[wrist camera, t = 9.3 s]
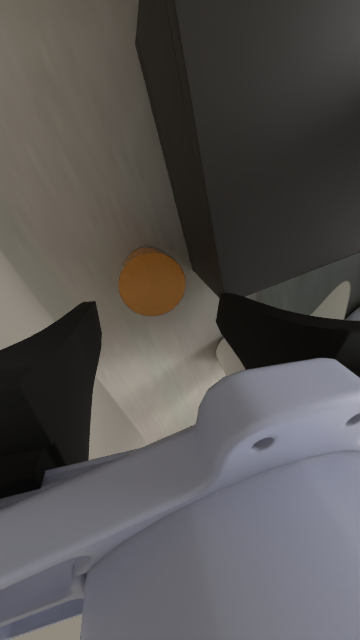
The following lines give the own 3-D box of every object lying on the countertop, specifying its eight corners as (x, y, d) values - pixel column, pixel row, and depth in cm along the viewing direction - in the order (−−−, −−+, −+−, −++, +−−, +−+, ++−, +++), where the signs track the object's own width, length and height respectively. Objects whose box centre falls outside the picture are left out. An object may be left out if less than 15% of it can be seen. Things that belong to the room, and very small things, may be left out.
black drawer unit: (134, 42, 11) (149, -139, 5) (323, -15, 11) (532, -235, 6) (192, 270, 19) (225, 304, 13) (303, 229, 19) (383, 243, 13)
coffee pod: (136, 230, 16) (139, 238, 13) (186, 262, 18) (197, 274, 15) (109, 283, 17) (106, 300, 14) (158, 306, 20) (164, 324, 17)
